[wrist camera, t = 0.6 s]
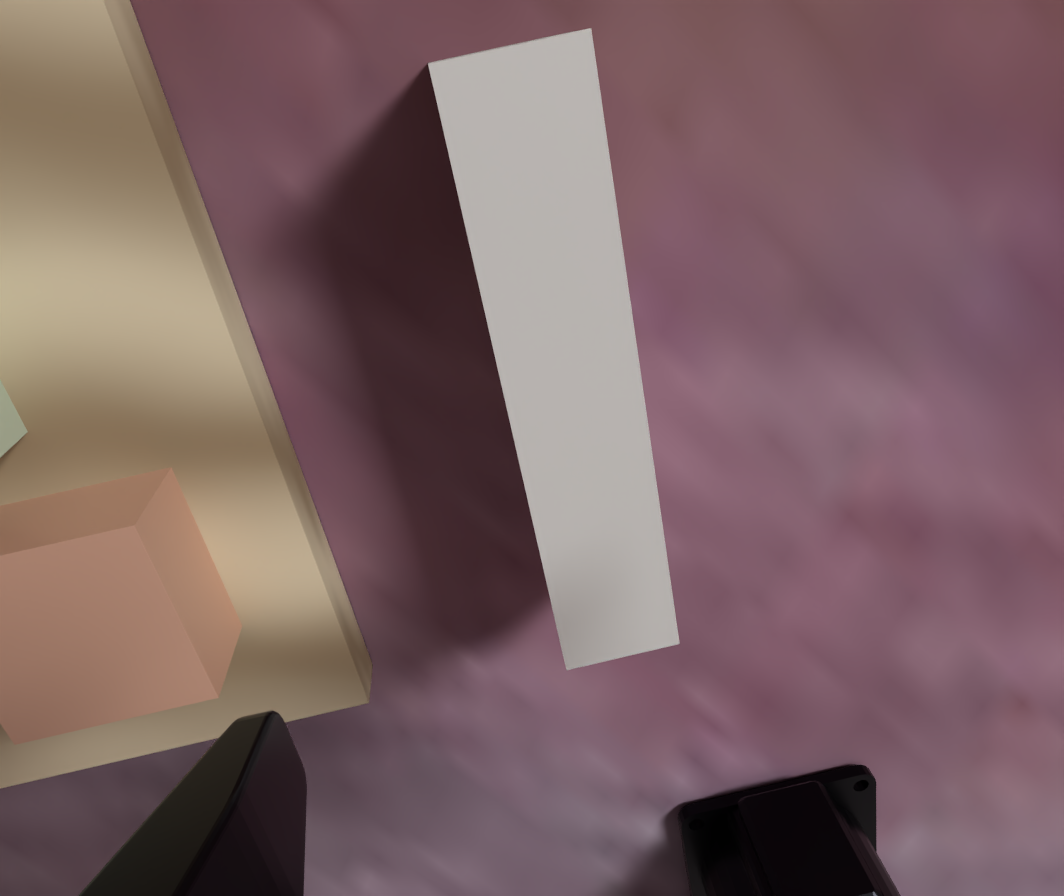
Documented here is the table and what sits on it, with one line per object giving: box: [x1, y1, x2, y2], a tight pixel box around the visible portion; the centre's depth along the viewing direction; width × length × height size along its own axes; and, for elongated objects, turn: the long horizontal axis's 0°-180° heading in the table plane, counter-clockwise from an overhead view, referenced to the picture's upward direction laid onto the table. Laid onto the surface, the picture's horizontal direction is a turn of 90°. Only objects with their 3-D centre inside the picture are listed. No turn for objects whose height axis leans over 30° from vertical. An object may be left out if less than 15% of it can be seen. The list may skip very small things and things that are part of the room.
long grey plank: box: [428, 28, 680, 670], centre depth 17 cm, size 12×2×5 cm, turn 11°
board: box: [0, 0, 373, 788], centre depth 18 cm, size 17×12×2 cm
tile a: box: [0, 467, 242, 745], centre depth 18 cm, size 4×4×2 cm
